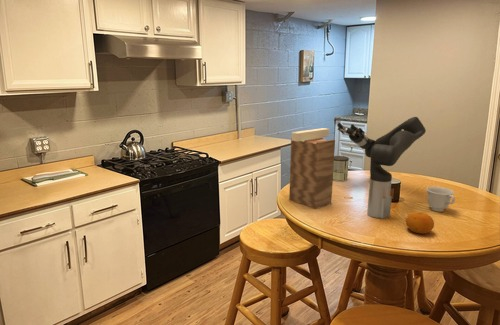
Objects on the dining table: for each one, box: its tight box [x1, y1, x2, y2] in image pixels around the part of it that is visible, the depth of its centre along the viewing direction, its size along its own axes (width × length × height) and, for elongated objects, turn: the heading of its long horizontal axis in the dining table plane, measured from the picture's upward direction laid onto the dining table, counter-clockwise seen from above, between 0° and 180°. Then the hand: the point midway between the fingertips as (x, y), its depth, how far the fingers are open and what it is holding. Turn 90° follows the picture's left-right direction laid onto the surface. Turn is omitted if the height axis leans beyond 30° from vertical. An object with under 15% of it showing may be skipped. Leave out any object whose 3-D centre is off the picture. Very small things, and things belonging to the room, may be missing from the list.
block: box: [291, 127, 330, 142], centre depth 182 cm, size 4×24×4 cm, turn 129°
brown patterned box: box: [288, 137, 336, 210], centre depth 181 cm, size 18×12×33 cm, turn 39°
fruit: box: [405, 212, 435, 235], centre depth 149 cm, size 10×10×8 cm
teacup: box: [425, 186, 456, 213], centre depth 172 cm, size 12×15×10 cm
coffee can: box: [333, 155, 350, 183], centre depth 223 cm, size 10×10×14 cm
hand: (344, 125), depth 195 cm, fingers open, 8 cm apart
